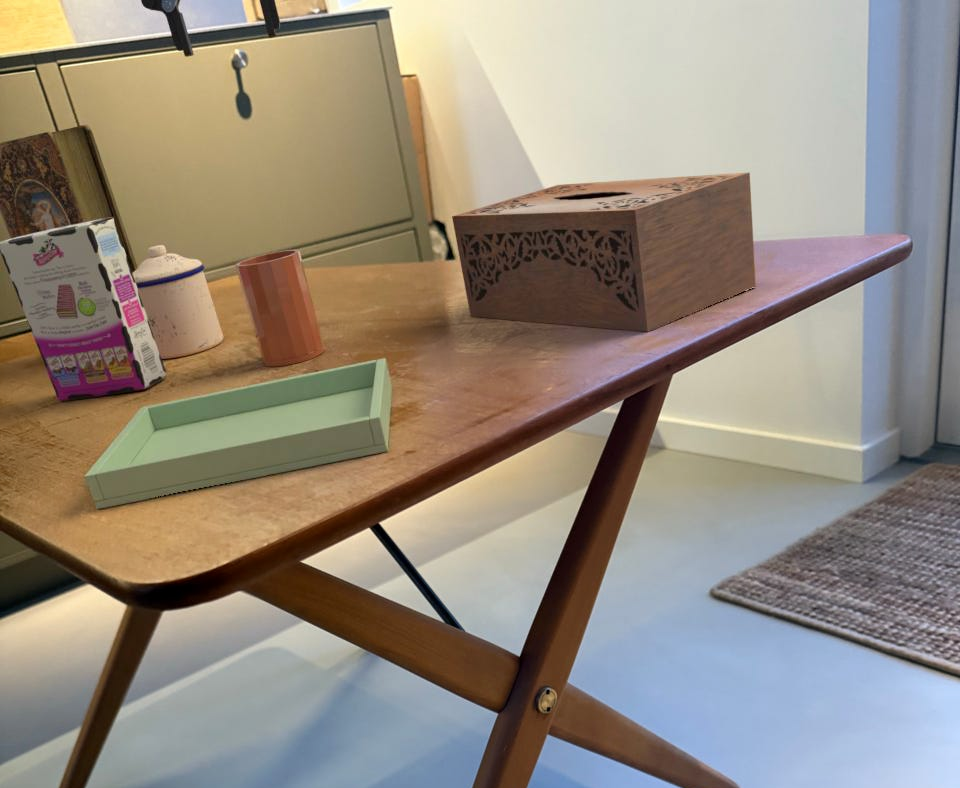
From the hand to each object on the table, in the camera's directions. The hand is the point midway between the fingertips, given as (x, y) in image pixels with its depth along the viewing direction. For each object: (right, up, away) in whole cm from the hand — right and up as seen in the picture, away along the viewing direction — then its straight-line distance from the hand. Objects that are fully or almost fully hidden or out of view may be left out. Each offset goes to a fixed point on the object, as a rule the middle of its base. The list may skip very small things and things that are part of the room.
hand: (230, 46), depth 103 cm
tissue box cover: (+37, -26, 0) cm, 45 cm away
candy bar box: (-14, -33, +7) cm, 36 cm away
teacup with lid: (-11, -25, +19) cm, 34 cm away
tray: (+7, -44, -21) cm, 49 cm away
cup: (+6, -30, +4) cm, 31 cm away
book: (-23, -22, +29) cm, 43 cm away
